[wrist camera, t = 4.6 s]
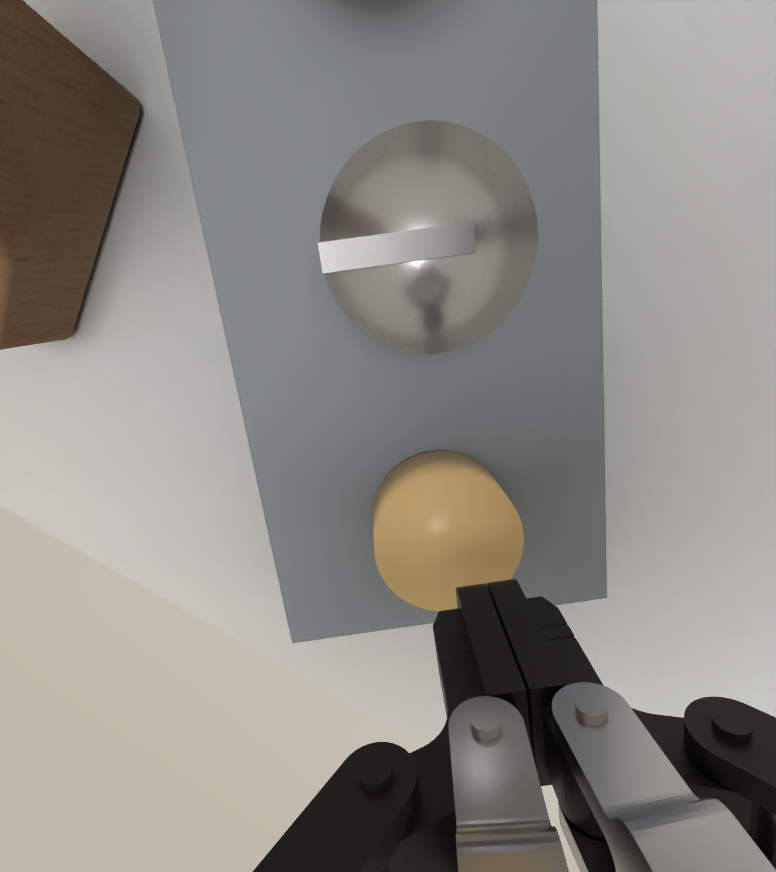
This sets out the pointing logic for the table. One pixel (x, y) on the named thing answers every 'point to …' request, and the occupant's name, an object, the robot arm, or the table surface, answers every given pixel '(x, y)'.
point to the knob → (443, 529)
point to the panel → (338, 336)
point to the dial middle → (428, 237)
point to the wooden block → (53, 173)
